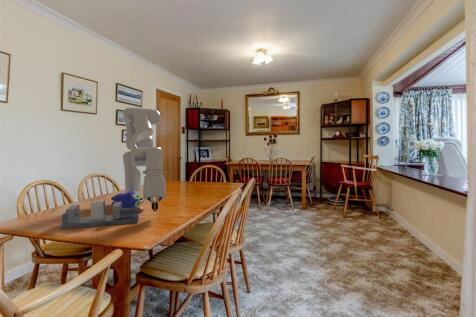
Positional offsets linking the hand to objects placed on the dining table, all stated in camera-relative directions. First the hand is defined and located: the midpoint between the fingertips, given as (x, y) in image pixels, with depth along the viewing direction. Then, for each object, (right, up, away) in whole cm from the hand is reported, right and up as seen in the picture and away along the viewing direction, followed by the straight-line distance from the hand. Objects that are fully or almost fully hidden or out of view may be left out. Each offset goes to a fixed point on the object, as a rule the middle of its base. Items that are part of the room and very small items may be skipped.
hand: (154, 210), depth 128 cm
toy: (-21, -3, +19) cm, 28 cm away
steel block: (-23, -2, -7) cm, 25 cm away
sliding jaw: (-11, -2, -3) cm, 12 cm away
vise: (-21, -4, -7) cm, 23 cm away
